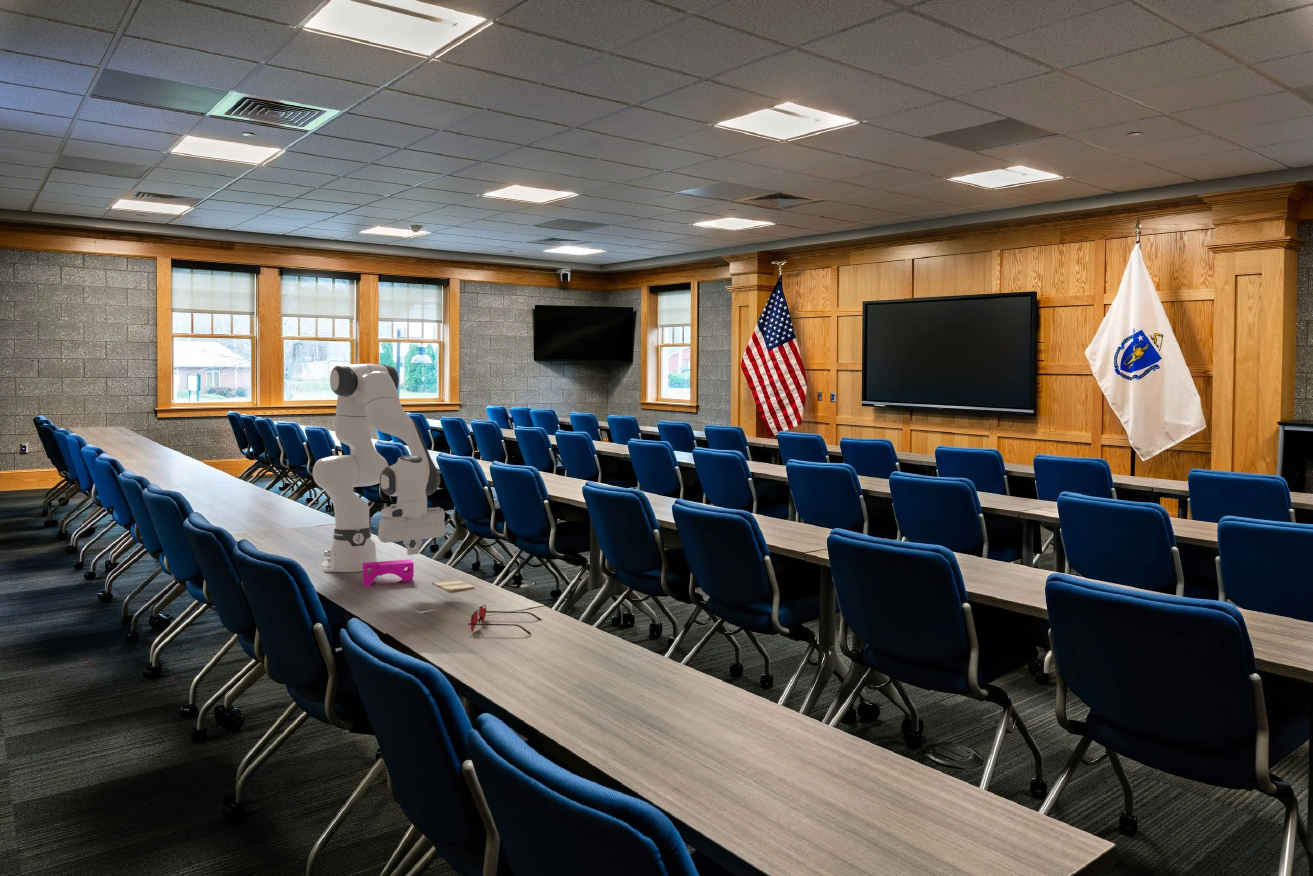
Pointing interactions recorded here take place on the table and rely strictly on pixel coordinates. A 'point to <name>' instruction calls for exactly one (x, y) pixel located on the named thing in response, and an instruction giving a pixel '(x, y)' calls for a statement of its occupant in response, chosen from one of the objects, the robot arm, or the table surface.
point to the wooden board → (453, 585)
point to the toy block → (388, 570)
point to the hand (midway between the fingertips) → (412, 554)
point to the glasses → (483, 612)
